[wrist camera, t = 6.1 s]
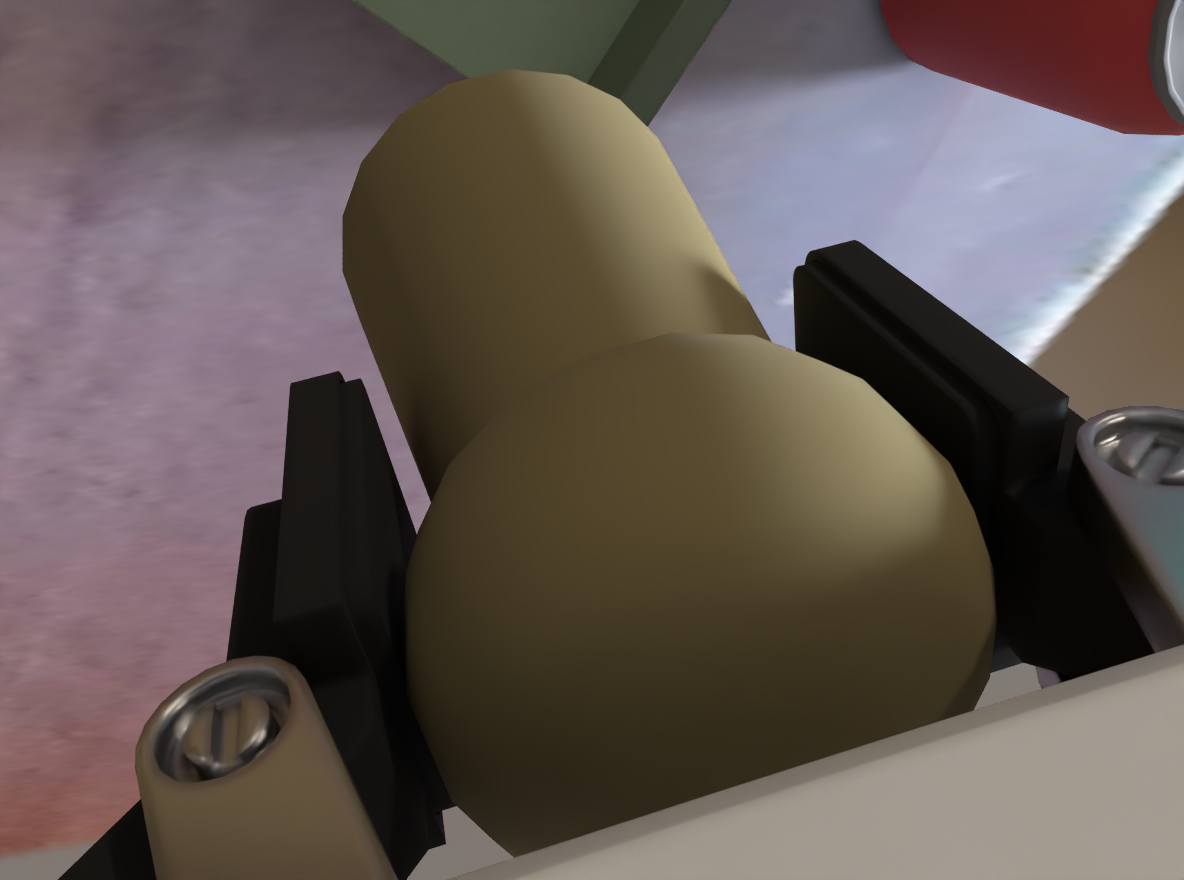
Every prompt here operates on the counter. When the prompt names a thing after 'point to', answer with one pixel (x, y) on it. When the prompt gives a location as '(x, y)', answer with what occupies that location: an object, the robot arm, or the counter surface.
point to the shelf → (564, 39)
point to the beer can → (1058, 54)
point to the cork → (634, 482)
